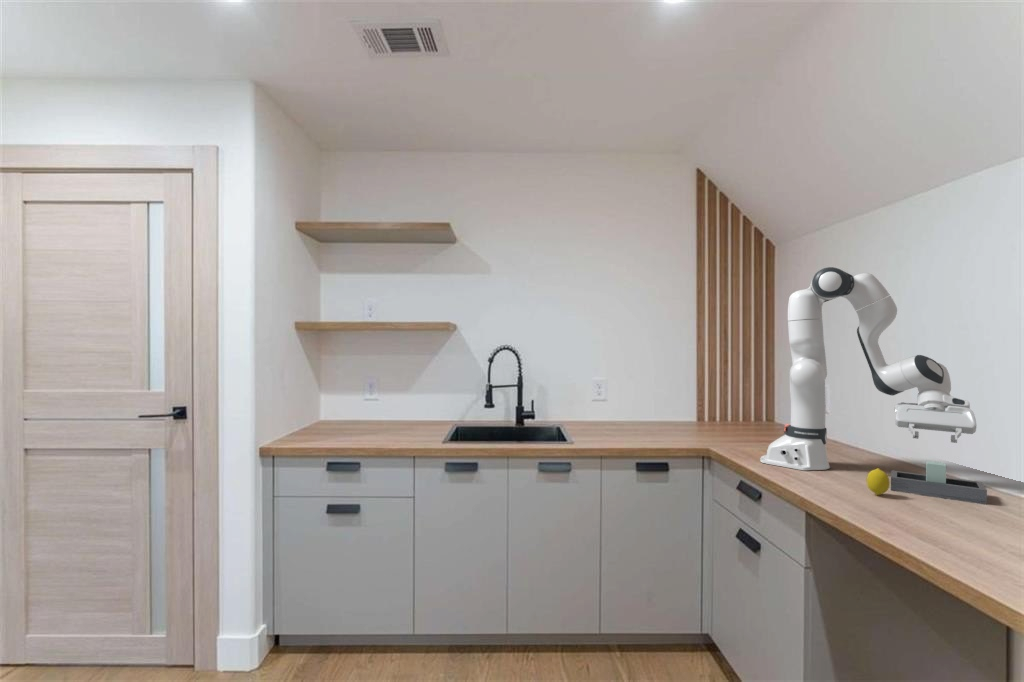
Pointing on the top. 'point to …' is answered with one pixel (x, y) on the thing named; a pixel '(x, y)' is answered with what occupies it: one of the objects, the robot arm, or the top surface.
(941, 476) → the door block
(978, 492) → the bottom track
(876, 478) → the lemon
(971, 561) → the top surface
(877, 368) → the robot arm
